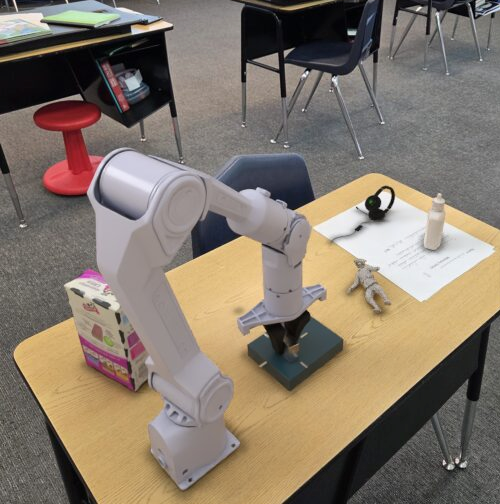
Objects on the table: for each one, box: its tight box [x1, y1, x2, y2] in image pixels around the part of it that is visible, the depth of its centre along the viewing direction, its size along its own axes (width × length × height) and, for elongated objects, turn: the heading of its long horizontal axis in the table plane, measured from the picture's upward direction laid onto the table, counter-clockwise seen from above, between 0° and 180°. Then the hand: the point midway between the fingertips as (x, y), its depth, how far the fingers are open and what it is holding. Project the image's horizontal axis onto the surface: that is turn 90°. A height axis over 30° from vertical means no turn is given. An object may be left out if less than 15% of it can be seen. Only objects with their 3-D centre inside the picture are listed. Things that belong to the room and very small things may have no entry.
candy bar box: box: [63, 268, 149, 393], centre depth 82 cm, size 11×5×16 cm, turn 59°
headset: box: [330, 185, 396, 243], centre depth 121 cm, size 7×7×20 cm
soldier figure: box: [346, 258, 392, 314], centre depth 100 cm, size 8×5×12 cm
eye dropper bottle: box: [423, 192, 446, 251], centre depth 112 cm, size 4×6×12 cm
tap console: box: [246, 316, 344, 392], centre depth 87 cm, size 14×10×3 cm
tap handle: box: [270, 323, 299, 364], centre depth 85 cm, size 6×2×4 cm, turn 32°
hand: (284, 347), depth 86 cm, fingers closed on tap handle, 2 cm apart
